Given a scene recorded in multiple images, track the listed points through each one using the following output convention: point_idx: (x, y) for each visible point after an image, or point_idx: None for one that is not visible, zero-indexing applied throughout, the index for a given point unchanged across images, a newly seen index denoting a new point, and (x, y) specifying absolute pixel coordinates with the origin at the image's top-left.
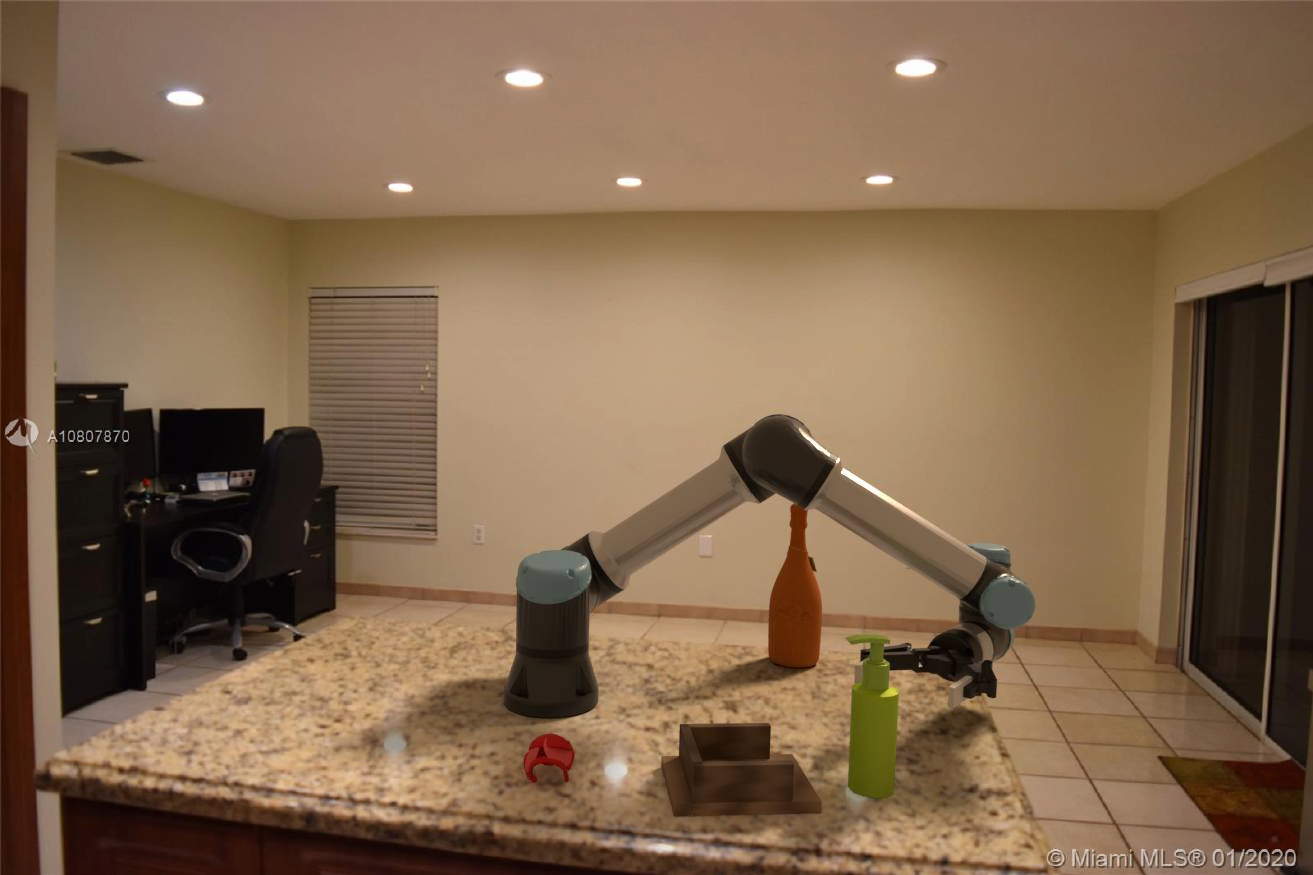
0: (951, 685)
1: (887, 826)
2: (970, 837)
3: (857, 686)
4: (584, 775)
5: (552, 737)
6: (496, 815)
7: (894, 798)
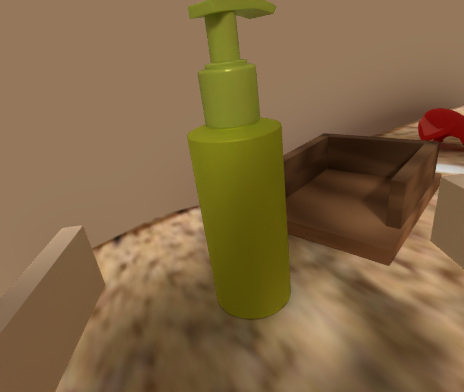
0: (72, 238)
1: (186, 244)
2: None
3: (260, 117)
4: (438, 157)
5: (435, 109)
6: (386, 133)
7: (209, 291)
